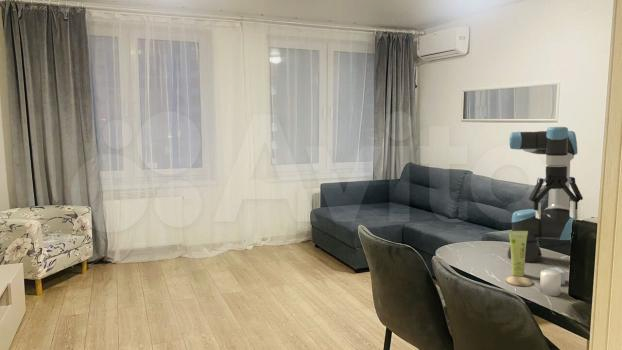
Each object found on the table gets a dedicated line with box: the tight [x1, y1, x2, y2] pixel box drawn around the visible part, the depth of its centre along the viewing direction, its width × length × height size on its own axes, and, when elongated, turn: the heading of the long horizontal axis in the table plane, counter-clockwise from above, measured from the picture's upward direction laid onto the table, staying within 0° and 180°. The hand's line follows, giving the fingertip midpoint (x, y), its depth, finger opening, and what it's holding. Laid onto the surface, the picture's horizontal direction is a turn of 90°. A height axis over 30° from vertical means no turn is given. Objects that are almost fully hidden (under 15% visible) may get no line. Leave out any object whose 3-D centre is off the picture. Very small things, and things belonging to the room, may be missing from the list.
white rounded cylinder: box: [539, 269, 562, 297], centre depth 175 cm, size 7×7×8 cm
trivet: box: [505, 275, 533, 287], centre depth 188 cm, size 10×10×1 cm
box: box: [542, 267, 566, 285], centre depth 187 cm, size 6×6×5 cm
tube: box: [508, 230, 528, 277], centre depth 195 cm, size 6×5×20 cm
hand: (555, 217), depth 184 cm, fingers open, 13 cm apart
